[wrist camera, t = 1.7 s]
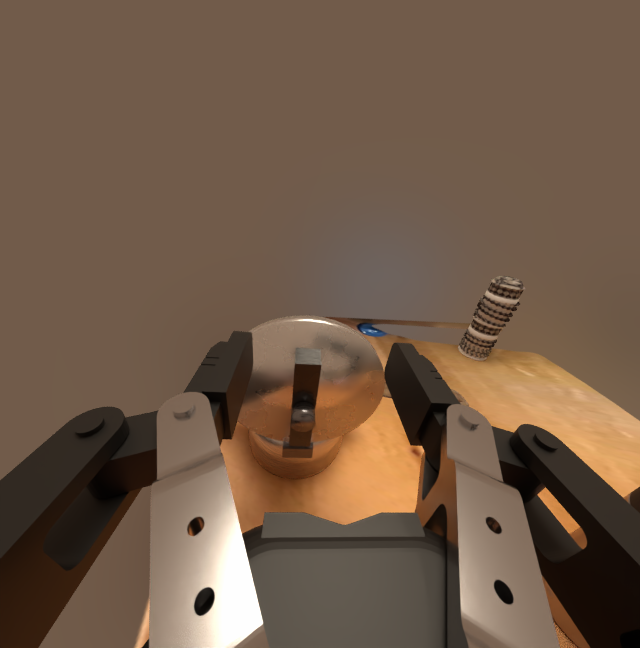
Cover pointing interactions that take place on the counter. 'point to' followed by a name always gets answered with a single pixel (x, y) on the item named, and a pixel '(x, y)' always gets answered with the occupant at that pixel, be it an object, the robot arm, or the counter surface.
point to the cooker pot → (293, 456)
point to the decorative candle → (491, 317)
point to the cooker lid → (310, 380)
